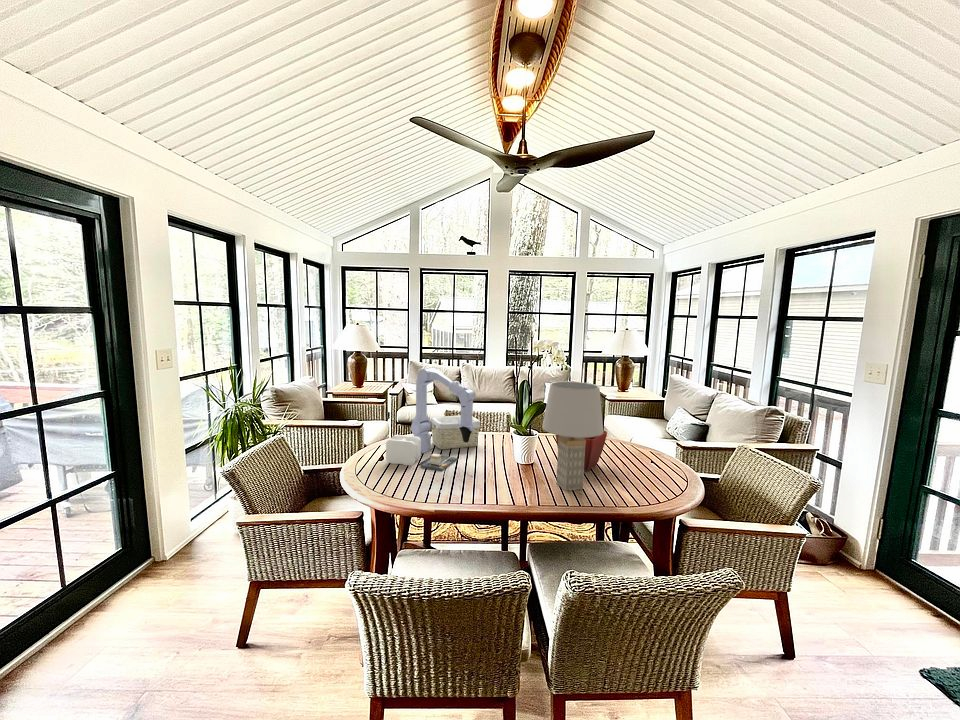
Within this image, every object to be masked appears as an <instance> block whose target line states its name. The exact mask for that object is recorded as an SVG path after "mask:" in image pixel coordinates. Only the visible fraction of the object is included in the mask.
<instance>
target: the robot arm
mask: <svg viewBox="0 0 960 720" xmlns="http://www.w3.org/2000/svg"><path fill="white" fill-rule="evenodd" d="M433 381H437V382H439V383H441V384H442V385H444V386H445V387H447V388H448V391H449V392H450V393H451V394H454V396H455V397H458V400H459V403H460V415H461V420H458V425H459V426H462V427H460V428H459V429H460V431H461V433H462V438H463V442H468V441H469V438H470V435H471V432H472V431H475V427H474V426H473V423H472V416H473V414H474V413H473V411H474V410H473V405H474V400H475V398H476V392H475V391H474V390H473V388H468V387H467V386H464V385H462V384H461V382H460V381H457V380H455V381H452V380H451V379H450V378H448V377H447V376H446V375H445V374H444V373H442V371H441V370H440V369H438V368H437V367H429V368H421V369H419V371H418V372H417V378H416V381H415V416H414V417H413V419H412V420H411V425H410V431H411V432H412V435H413V436H414V437H419V438H420V439H421V454H424V453H427V452H428V451H429V450H432V449H433V447H432V446H431V445H432V444H431V443H432V437H431V436H432V435H431V434H430V432H429V431H431V430H432V422H431V418H430V416H428V415H427V413H428V411H427V410H428V408H427V407H428V406H427V405H428V404H427V403H428V399H427V397H428V395H427V393H428V392H427V391H428V388H427V387H428V385H429V384H430V383H431V382H433Z"/></svg>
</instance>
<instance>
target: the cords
mask: <svg viewBox="0 0 960 720" xmlns="http://www.w3.org/2000/svg"><path fill="white" fill-rule="evenodd" d="M430 459H431V458H430V456H429V457H428V458H426V459H424V460H423V461H421V462H420V463H418V465H417V466H419V467H421V465H422V464H423V463H425V462H426V461H428V460H430Z"/></svg>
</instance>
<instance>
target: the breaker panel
mask: <svg viewBox="0 0 960 720" xmlns="http://www.w3.org/2000/svg"><path fill="white" fill-rule="evenodd" d="M440 455H441V463H440V464H439V465H436V464H430V460H428V461H426V462H425V463H423V464H422V465H421V466H420V468H421V469H427V470H433V471H437V472H443V471H444V470H446V469H447V468H449V467H450V466H452V464H454V463H455V462H458V457H457V456H450V455H449V456H448V455H443V454H440Z"/></svg>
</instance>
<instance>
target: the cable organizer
mask: <svg viewBox="0 0 960 720" xmlns="http://www.w3.org/2000/svg"><path fill="white" fill-rule="evenodd" d="M421 455H422V453H421V439H420V438H419V437H414V435H413V436H411V435H402V434H394V435H393V436H391V438H390V439H388V440H387V441H386V443H385V460H386V462H388V463H389V464H391V465H404V466H410V467H411V466H412V465H414V464H415V463H416V460H418V459H420V458H421Z"/></svg>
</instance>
